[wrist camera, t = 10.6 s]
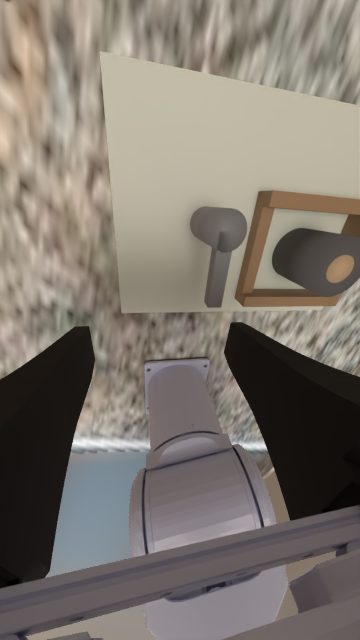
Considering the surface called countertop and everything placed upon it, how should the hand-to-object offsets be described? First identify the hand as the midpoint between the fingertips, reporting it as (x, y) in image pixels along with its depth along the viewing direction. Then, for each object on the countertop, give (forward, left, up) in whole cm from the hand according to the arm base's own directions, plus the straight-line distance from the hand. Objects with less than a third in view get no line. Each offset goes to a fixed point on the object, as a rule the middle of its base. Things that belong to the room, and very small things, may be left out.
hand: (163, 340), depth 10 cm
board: (+5, -8, -10) cm, 14 cm away
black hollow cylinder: (+3, -13, -9) cm, 16 cm away
